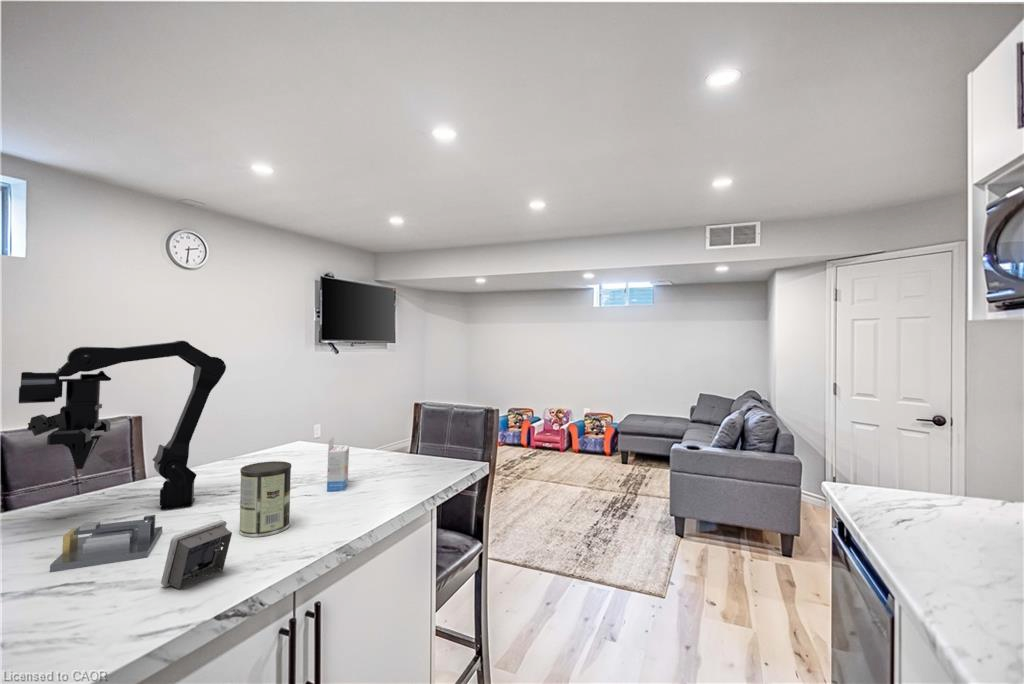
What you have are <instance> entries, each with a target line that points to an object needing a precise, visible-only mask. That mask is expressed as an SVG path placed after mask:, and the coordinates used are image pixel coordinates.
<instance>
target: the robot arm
mask: <svg viewBox="0 0 1024 684" xmlns="http://www.w3.org/2000/svg"><path fill="white" fill-rule="evenodd" d="M171 357H178V358H180V359H182V361H185V363H187V364H189V365H190V366H192V367H193V368H194V370H193V371H194V372H193V374H192V376H193V377H192V387H191V390H190V393H189V395H188V398H187V400H186V401H185V405H184V407H183V409H182V412H181V414H180V416H179V419H178V421H177V423H176V426H175V429H174V431H173V433H172V436H171V438H170V439H169V440H168V442H167V444H165V445H162V444H159V445H158V448H157V452H156V454H155V455H154V457H153V458H152V461H153V462H154V464H153V468H154V471H156V473H157V474H159V476H161V477H162V478H163V479H164V480H165V481H164V482H163V483H162V487H161V488H160V490H159V506H160V511H163V510H170V509H171V510H172V509H173V510H174V509H179V508H189V507H192V506H193V504H194V502H195V501H196V497H195V496H194V494H195V480H196V477H197V473H196V472H194V471H193V470H192V469H190V468H189V467H188V461H189V460H188V459H189V453H190V444H191V440H192V439H193V438H192V437H193V435H194V433H195V431H196V428H197V426H198V422H199V420H200V418H201V416H202V413H203V410H204V408H205V406H206V403H207V402H208V398H209V396H210V394H211V392H212V391H213V389H214V388H215V387H216V386H217V384H219V382H220V381H221V379H222V376H223V375H224V374H225V372H226V369H227V365H226V363H225V361H224V360H223V359H222V358H220V357H218V356H210V355H209V354H207V353H206V352H204V351H202V350H200V349H199V348H196V347H195V346H194V345H191V344H190V343H189V342H188V341H186V340H175V341H172V342H164V343H163V342H161V343H152V344H143V345H134V346H133V345H132V346H131V345H130V346H124V347H123V346H122V347H106V346H105V347H103V346H102V347H101V346H80V347H79V346H78V347H76V348H73V349H72V350H71V351H70V352H69V353H68V354H67V357H66V358H67V360H66V362H65V363H64V364H63V365H62V366H61V367H60V368H59V367H58V369H57V371H56V372H33V371H23V372H21V373H20V374H21V375H20V386H19V387H18V404H21V405H22V404H37V403H38V404H40V403H55V401H56V399H59V398H62V397H63V382H65V383H66V385H65V386H66V387H65V405H64V406H63V405H62V407H60V409H59V413H57V414H53V415H50V416H47V415H45V414H43V413H42V414H38V415H35V416H32V417H31V418H30V420H29V421H30V422H27V425H28V426H27V430H28V431H31V433H32V435H33V437H36V436H39V435H41V434H44V433H47V432H50V431H52V430H53V431H52V432H51V433H49V434H48V435H47V437H46V438H47V439H46V445H47V446H55V445H63V446H65V447H67V448H68V449H69V450H68V451H69V452H70V455H71V457H72V461H73V463H74V467H75V469H76V470H82V469H84V468H85V467H86V465H87V463H88V461H89V460H90V457H91V456H92V454H93V452H94V451H95V449H96V448H97V446H98V444H99V443H100V440H101V439H102V438H103V435H101V434H100V435H99V434H98V435H95V434H96V432H99V431H103V433H107V432H109V431H111V422H110V421H109V420H108V419H99V418H100V417H99V415H100V409H102V408H103V403H100V393H101V382H108V381H112V378H111V377H110V376H109V375H107V374H106V373H105V372H104V371H103V370H100V369H104V368H108V367H111V366H114V365H118V364H122V363H128V362H137V361H146V360H153V359H163V358H171ZM97 370H100V371H98V372H97V373H90V372H93V371H97ZM80 372H81V373H80ZM82 372H86V373H82ZM87 372H89V373H87ZM78 373H80V375H79V377H78V378H63V377H71V376H74V375H76V374H78ZM60 377H61V378H60Z"/></svg>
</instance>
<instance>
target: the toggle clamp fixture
mask: <svg viewBox="0 0 1024 684" xmlns="http://www.w3.org/2000/svg"><path fill="white" fill-rule="evenodd" d="M149 517H150V518H152V519H153V521H152V523H151V522H145V523H139V524H138V528H135V529H127V530H118V531H109V532H101V533H92V534H89V535H87V536H79V535H75V536H74V531H75V530H76V529H77V528H78V527H75V528H74V527H72V528H70V529H69V531H67V532H66V533H65V534H64V535H63V536H62V549H61V550H62V551H61V552H62V553H61V554H60V555H59V556H58V557H57V558H56V559H54V561H53V562H52V563H51V564H50V565H49V573H51V572H59V571H66V570H71V569H79V568H85V567H92V566H98V565H104V564H105V565H106V564H111V563H119V562H124V561H125V562H126V561H132V560H137V559H138V560H139V559H145V558H148V557H149V555H150V553H151V552H152V551H153V549H154V547H155V545H156V544H157V542H158V540H159V539H160V537H161V535H162V533H163V526H159V527H158V526H157V527H156V514H151V515H150V514H149V515H144V517H143V519H146V518H149Z"/></svg>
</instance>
